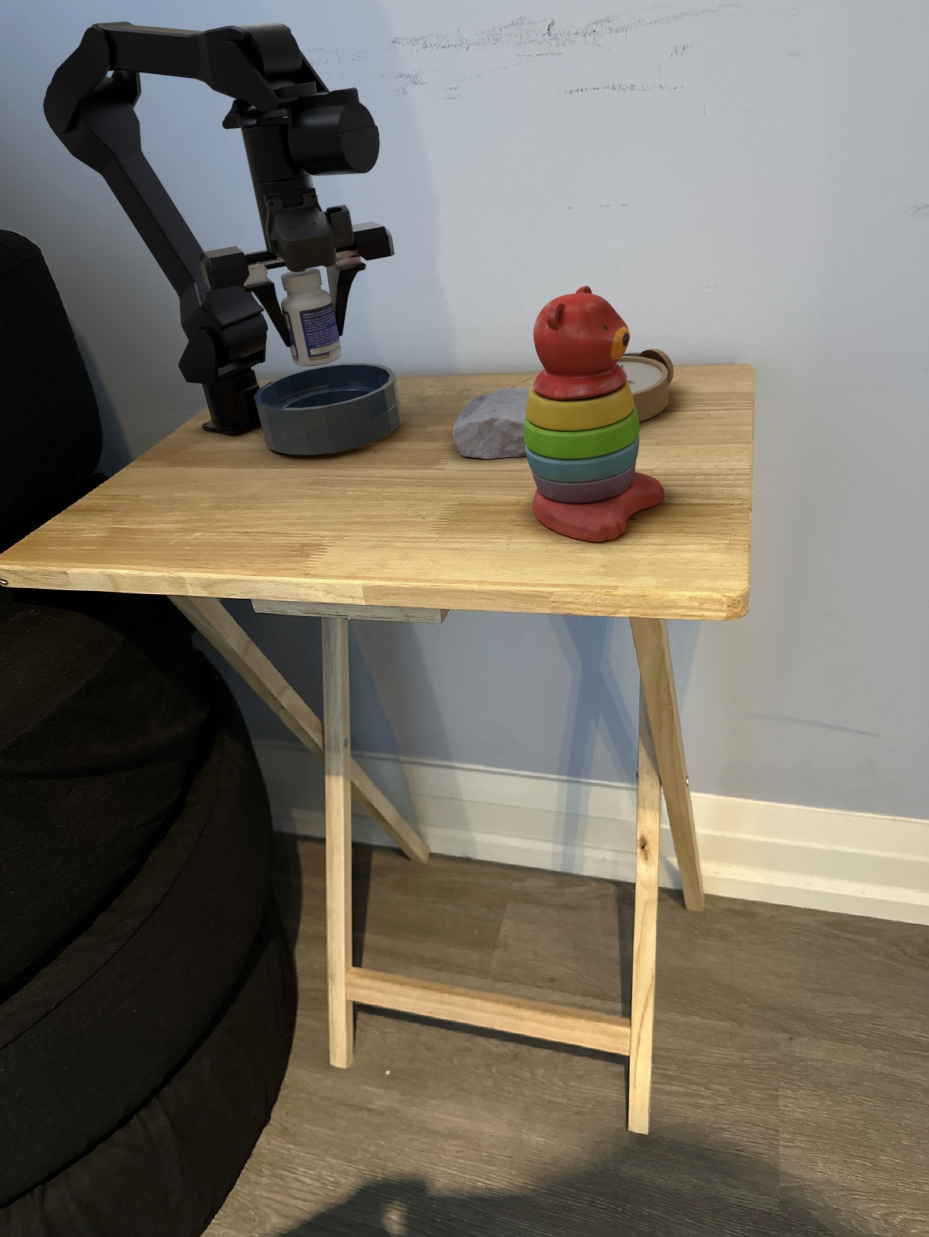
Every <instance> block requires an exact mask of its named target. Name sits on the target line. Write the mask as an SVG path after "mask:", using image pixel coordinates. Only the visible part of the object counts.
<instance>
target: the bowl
mask: <svg viewBox="0 0 929 1237" xmlns="http://www.w3.org/2000/svg"><path fill="white" fill-rule="evenodd" d="M254 398H255V402H256V407H257V411H258V415H259V419H260V423H261V424H260V426H261V431H262V435H263V440H264V443H265V445H266V447H267V448H269V449H270V450H273V451H274V452H277V453H282V454H287V455H293V456H295V455H296V456H297V455H299V456H319V455H320V456H321V455H329V454H330V455H331V454H337V453H343V452H347V451H351V450H355V449H357V448H361V447H364V446H366V445H369V444H372V443H375V442H377V441H378V440H381V439H383V438H385V437H387V436H388V435H390V434H392V433H393V432H394V431H395V430H396V429H397V428H399V427H400V425H401V423H402V420H403V413H402V407H401V401H400V393H399V388H398V382H397V375H396V373H395V372H394V371H393V370H392V368H391V367H387V366H384V365H382V364H375V363H370V362H369V363H367V362H347V363H346V362H345V363H344V362H343V363H335V364H325V365H319V366H314V367H311V368H310V367H309V368H305V369H302V370H299V371H295V372H292V373H289V374H285V375H282V376H280V377H278V378H276V379H273V380H271V381H269V382H268V383H265V385H263V386H261V387H260V389H259V390H258V391H257V393H256V394H255V395H254Z"/></svg>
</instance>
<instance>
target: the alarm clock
mask: <svg viewBox="0 0 929 1237" xmlns="http://www.w3.org/2000/svg"><path fill="white" fill-rule="evenodd" d="M617 364H618V365H619V366H620V367H621V368H622V369H623V370H624V371H625V373H626V375H627V381H628V383H629V386H630V389H631V392H632V396H633V400H634V406H635V407H636V410H637V414H638V419H639V423H640V422H642V421H645V420H648V419H651V418H653V417H654V416H656V415H658V414H660V413H661V412H662V411H663V410H665V408H666V407H667V406H668V404H669V398H670V397H669V396H670V395H669V386H670V384H672V381H673V378H674V364H673V362H672V360H671V358H670V357H669V356H668V354H667V353H665V352H664V351H663V350H661V349H658V348H647V349H645V350H643V351H641V352H637V351H636V352H625V353H624V355H623V356H622V357H621V358H620V359H619V361H618V362H617Z"/></svg>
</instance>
